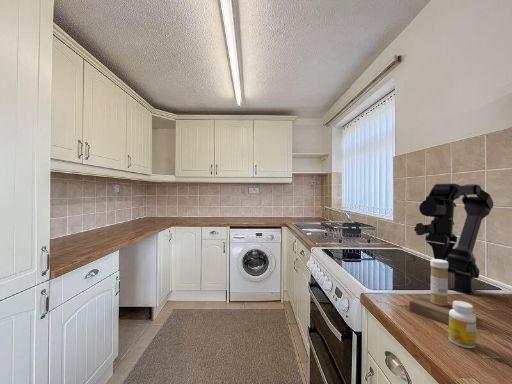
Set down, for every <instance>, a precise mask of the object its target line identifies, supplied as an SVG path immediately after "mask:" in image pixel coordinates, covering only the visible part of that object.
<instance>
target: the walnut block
mask: <svg viewBox="0 0 512 384" xmlns="http://www.w3.org/2000/svg"><path fill="white" fill-rule="evenodd" d="M430 299H431V293H425V294H423V295H422V296H419V297H416V298H414V299H412V300H410V301H409V311H410V312H412V313H415V314H418V315H420V316H422V317H425V318H428V319H431V320H433V321H435V322H438V323H441V324H443V325H447V326H449V311H450V310H451V309H454V308H453V301H454V300H451V299H447V303H448V305H447V306H439V305H435V304H433V303H432V302H431V301H430Z"/></svg>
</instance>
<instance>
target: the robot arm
mask: <svg viewBox="0 0 512 384" xmlns="http://www.w3.org/2000/svg"><path fill="white" fill-rule="evenodd" d="M471 195H473V196H471ZM474 195H475V196H474ZM461 196H463V197H462V199H461V202H462V203H463V206H464V207H463V209H464V211H465V213H466V217H465V220H464V223H463V228H462V230H461V234H460V236H459V240H458V237H457V235H456V234H454V233H453V226H454V225H455V222H454V214H455V213H454V212H455V208H456V207H457V204H456V203H455V202H454V201H455V200H458V199H459V198H461ZM418 208H419V212H420V214H421V215H422V216H425V217H431V218H433V219H432V220H430V223H429V224H423V222H419V223H415V224H416V225H415V226H414V232H415V233H416V236H423V235H425V236H424V237H425V239H424V240H425V241H426V243H427V244H428V245H429V246H430V247H431V250H432V253H433V259H441V260H445V261H447V262H448V273H451V274H453V283H452V284H453V285H452V286H449V290H452V291H455V290H456V292H459V291H460V292H459V293H462V292H463V294H467V295H471V294H473V293H475V292H476V289H473V279H479V277H480V269H479V267H478V266H477V264H476V257H475V255H474V253H473V252H474V248H475V245H476V241H477V237H478V233H479V231H480V227H481V224H482V220H483V219H485V218H486V217H487V216H489V215H490V213H491V210H492V209H493V208H494V200H493V199H492V197H491V194H489V193H488V192H486V191H485V190H483V189H482V188H481V185H479V184H463V185H462V184H461V185H460V184H457V183H436V184H434V185H433V187H432V188H431V190H430V191H429V193H428V194H427V196H426V197H425V200H423V201H422V202H420V205H419V207H418ZM456 243H457V246H456V247H455V245H456ZM454 247H455V248H454ZM474 291H475V292H474ZM472 292H473V293H472Z"/></svg>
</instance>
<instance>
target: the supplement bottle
mask: <svg viewBox="0 0 512 384" xmlns="http://www.w3.org/2000/svg"><path fill="white" fill-rule="evenodd" d="M452 301H453V308H454V309H451V310H450V311H449V325H448V340H449V341H450V342H451V343H453V344H454V345H456V346H458V347H461V348H465V349H474V348H475V347H476V345H477V317H476V316H475V314H474V313H473V312H474V306H473V305H472V304H471V303H469V302H466V301H462V300H452Z"/></svg>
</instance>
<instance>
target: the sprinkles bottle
mask: <svg viewBox="0 0 512 384" xmlns="http://www.w3.org/2000/svg"><path fill="white" fill-rule="evenodd" d="M448 273H449V272H448V262H447V261H446V260H441V259H434V258H432V259H430V294H431V299H430V301H431V302H432V303H433V304H435V305H439V306H447V305H448V303H447V300H448V292H449V291H448V289H449V288H448V287H449V285H448V284H449V283H448V280H449V278H448V276H449V275H448Z"/></svg>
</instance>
